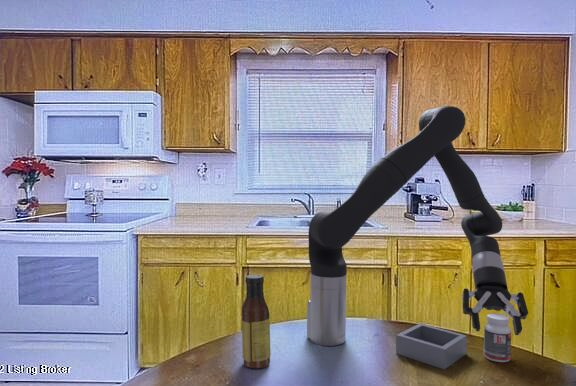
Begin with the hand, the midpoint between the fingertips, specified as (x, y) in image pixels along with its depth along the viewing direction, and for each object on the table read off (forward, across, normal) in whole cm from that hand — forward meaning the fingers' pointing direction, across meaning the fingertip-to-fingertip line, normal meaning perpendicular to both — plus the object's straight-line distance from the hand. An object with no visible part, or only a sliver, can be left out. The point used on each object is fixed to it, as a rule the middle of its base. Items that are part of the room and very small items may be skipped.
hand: (497, 331), depth 100 cm
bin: (+6, -15, +3) cm, 16 cm away
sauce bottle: (+18, -54, -9) cm, 57 cm away
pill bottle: (+5, 0, +4) cm, 6 cm away
